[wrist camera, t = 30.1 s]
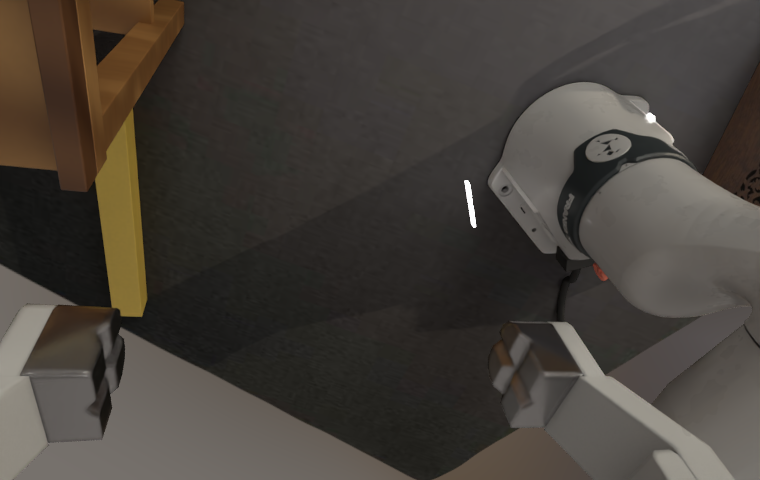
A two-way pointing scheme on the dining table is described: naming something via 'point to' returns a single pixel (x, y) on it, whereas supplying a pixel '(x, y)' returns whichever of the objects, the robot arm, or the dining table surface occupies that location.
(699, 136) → the dining table surface
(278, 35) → the dining table surface
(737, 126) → the tissue box cover
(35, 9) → the wooden side table
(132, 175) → the yellow bar
